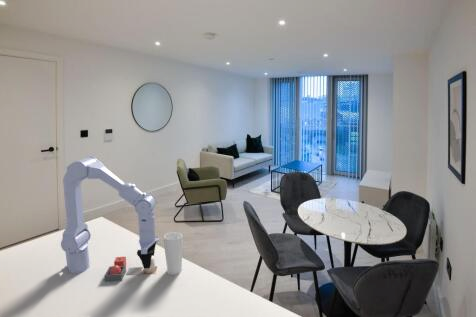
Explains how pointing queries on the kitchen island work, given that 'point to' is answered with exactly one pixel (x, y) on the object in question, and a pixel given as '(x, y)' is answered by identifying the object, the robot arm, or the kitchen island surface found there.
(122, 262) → the red block with knob
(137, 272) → the game board
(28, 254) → the kitchen island surface
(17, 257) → the kitchen island surface
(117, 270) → the pop dome
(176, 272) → the drinking glass
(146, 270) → the ivory pawn
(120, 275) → the pop dome base
